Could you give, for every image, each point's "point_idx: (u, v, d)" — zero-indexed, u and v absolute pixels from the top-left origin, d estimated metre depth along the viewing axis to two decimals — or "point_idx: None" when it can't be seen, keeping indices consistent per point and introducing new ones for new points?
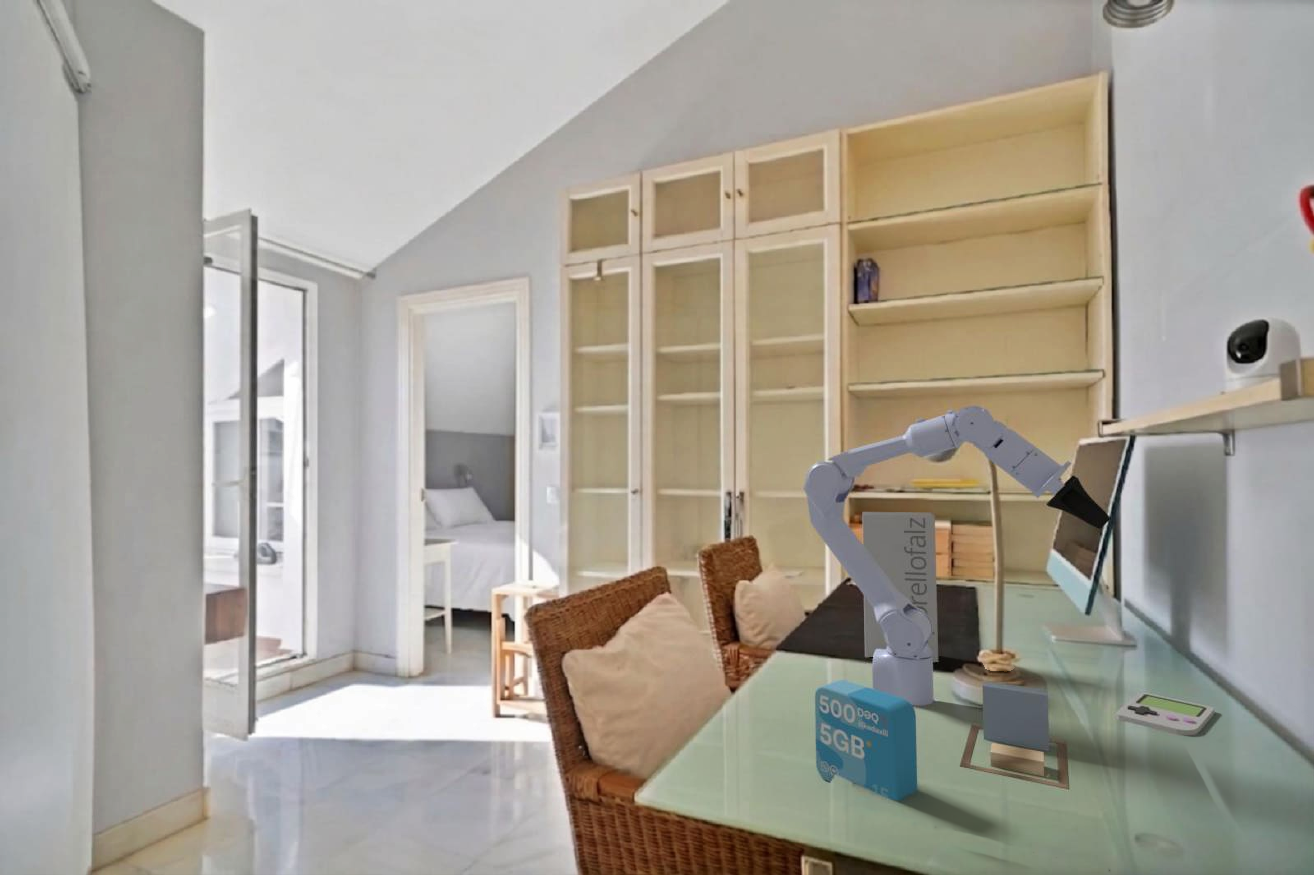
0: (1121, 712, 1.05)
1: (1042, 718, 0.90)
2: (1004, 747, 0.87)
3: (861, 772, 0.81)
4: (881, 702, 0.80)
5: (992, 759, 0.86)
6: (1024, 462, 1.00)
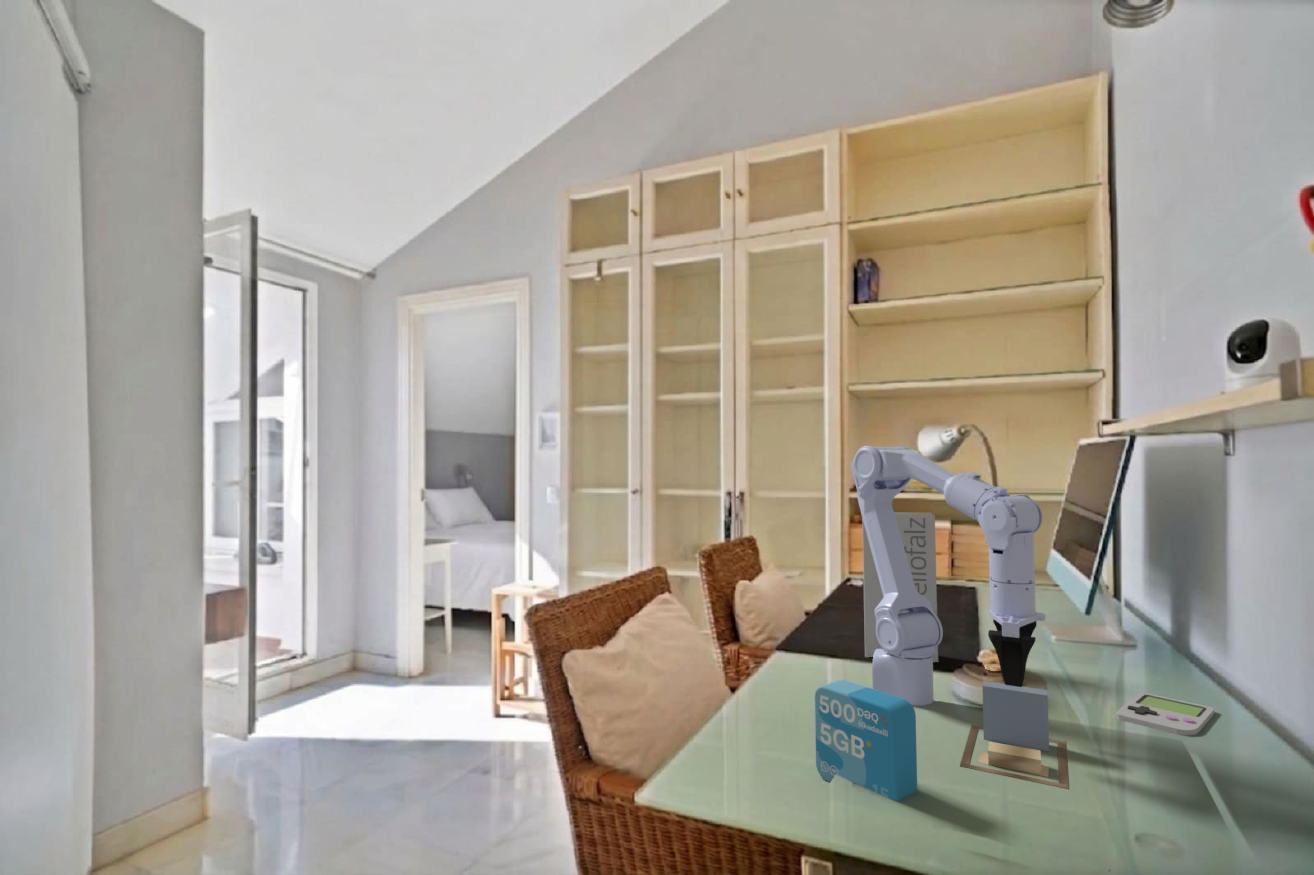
0: (1121, 712, 1.05)
1: (1042, 718, 0.90)
2: (1002, 746, 0.87)
3: (861, 772, 0.81)
4: (881, 702, 0.80)
5: (990, 758, 0.86)
6: (1011, 586, 0.91)
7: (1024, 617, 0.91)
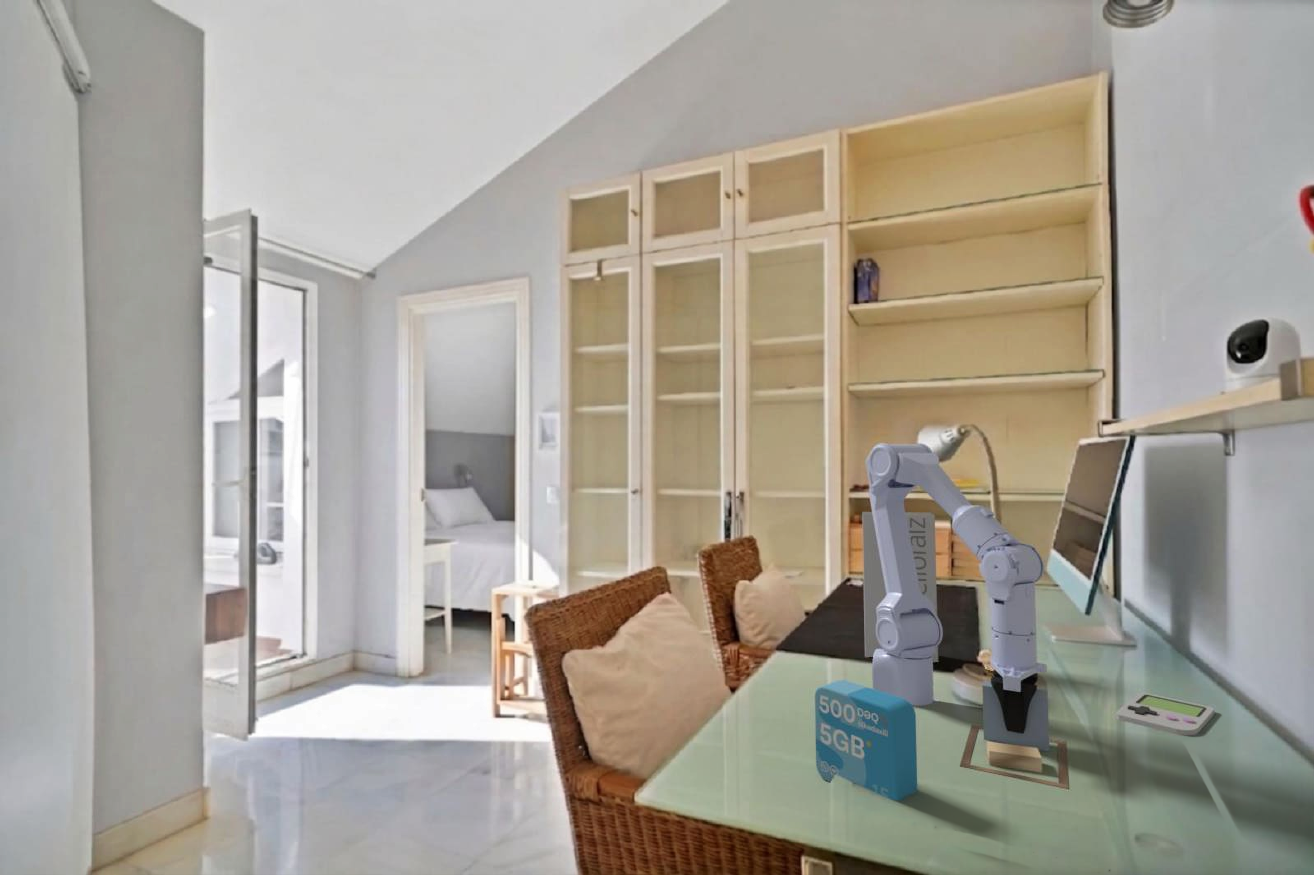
0: (1121, 712, 1.05)
1: (1042, 718, 0.90)
2: (1000, 745, 0.88)
3: (861, 772, 0.81)
4: (881, 702, 0.80)
5: (991, 758, 0.86)
6: (1012, 637, 0.91)
7: (1025, 669, 0.90)
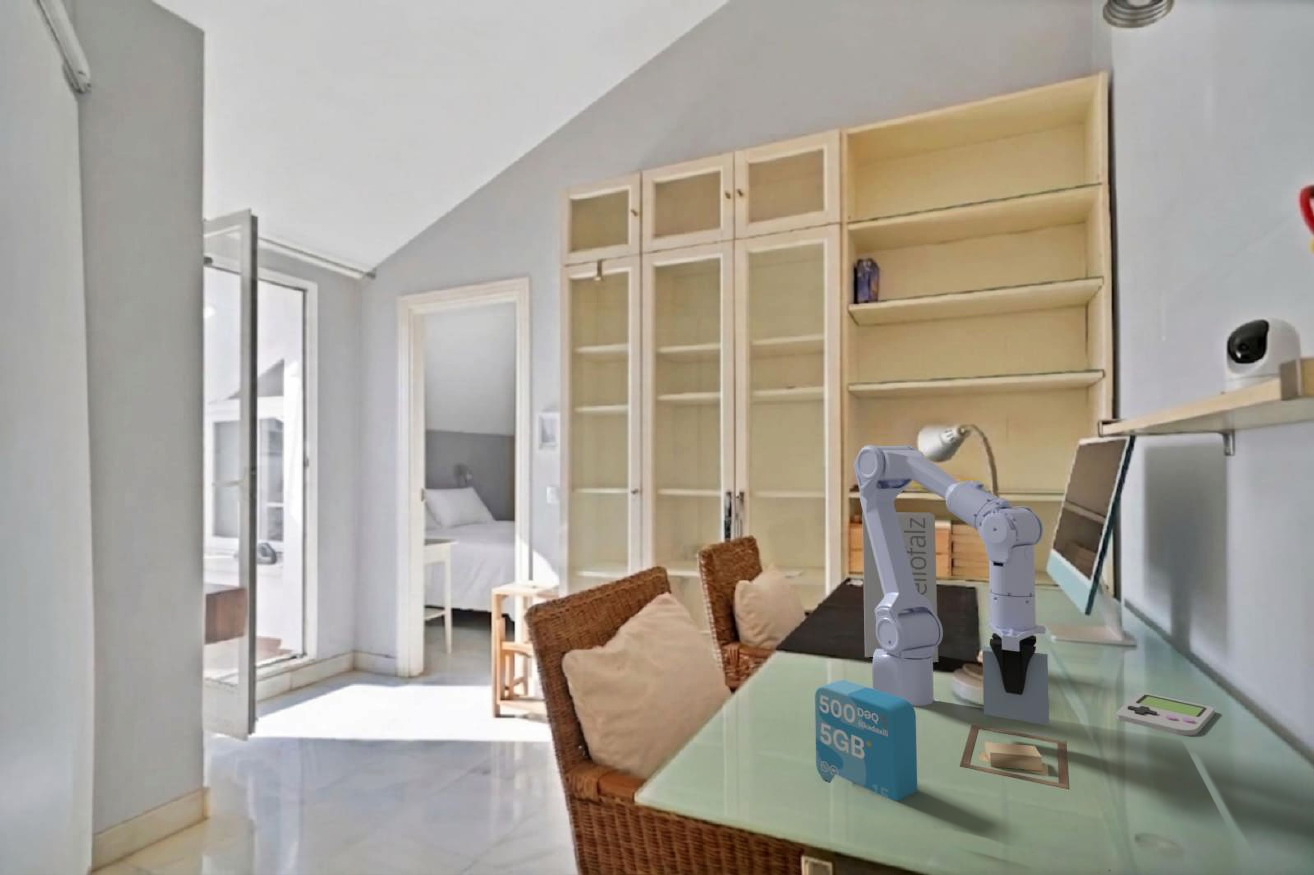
0: (1121, 712, 1.05)
1: (1042, 681, 0.90)
2: (999, 745, 0.88)
3: (861, 772, 0.81)
4: (881, 702, 0.80)
5: (992, 759, 0.86)
6: (1011, 599, 0.91)
7: (1024, 630, 0.91)
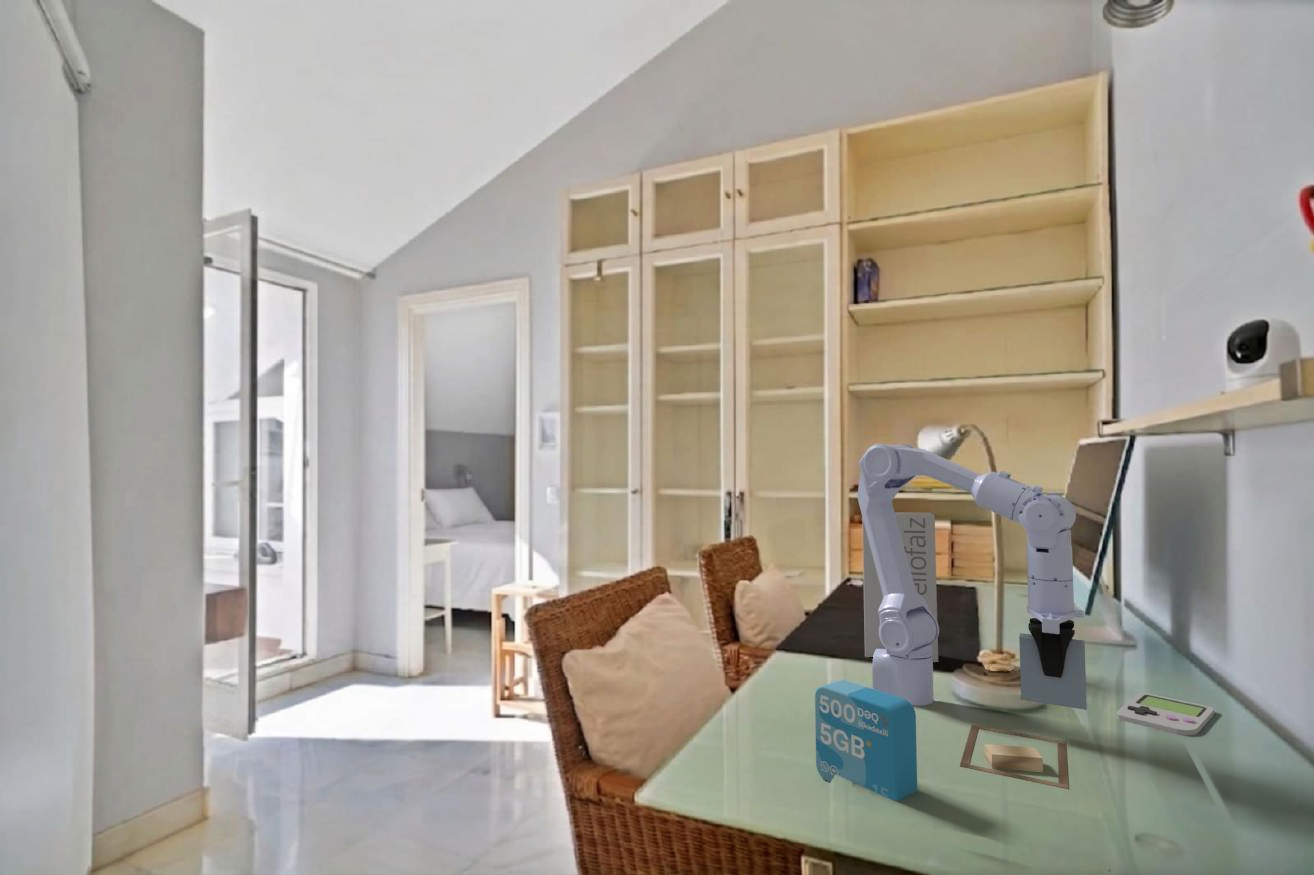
0: (1121, 712, 1.05)
1: (1079, 667, 0.92)
2: (999, 747, 0.87)
3: (861, 772, 0.81)
4: (881, 702, 0.80)
5: (993, 761, 0.85)
6: (1050, 583, 0.93)
7: (1063, 614, 0.92)
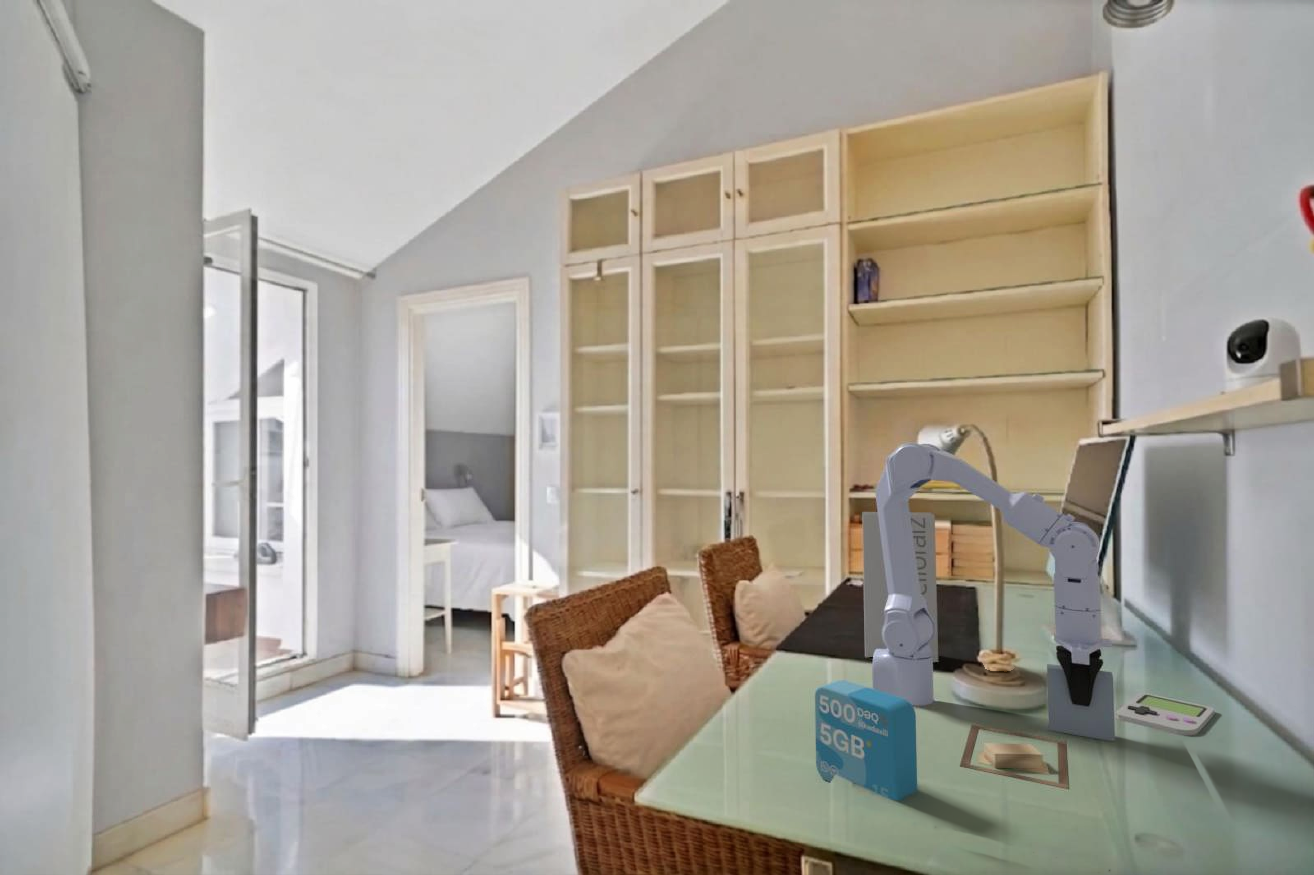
0: (1121, 712, 1.05)
1: (1107, 699, 0.93)
2: (998, 746, 0.87)
3: (861, 772, 0.81)
4: (881, 702, 0.80)
5: (996, 760, 0.85)
6: (1078, 613, 0.94)
7: (1091, 643, 0.93)
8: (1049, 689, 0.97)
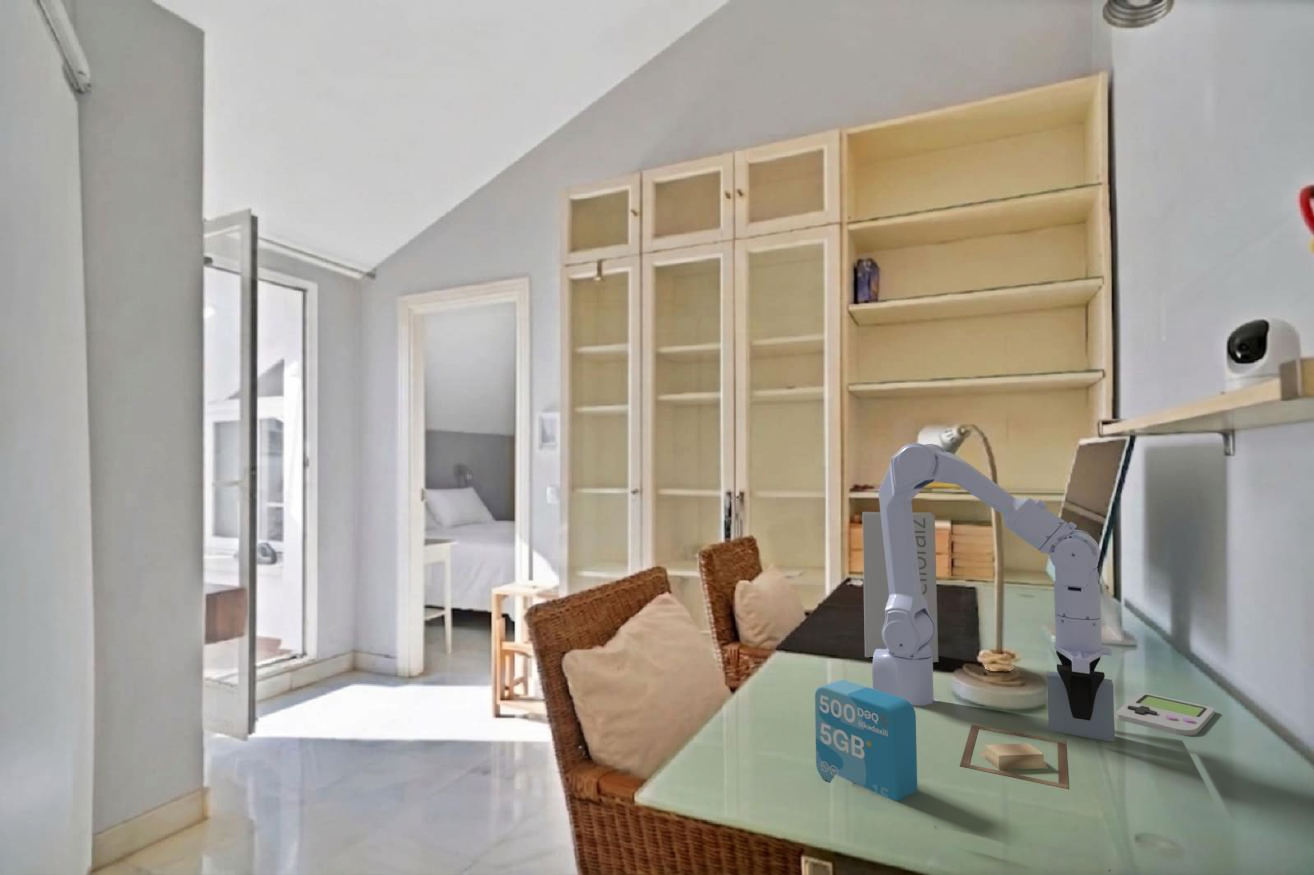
0: (1121, 712, 1.05)
1: (1107, 706, 0.93)
2: (999, 747, 0.87)
3: (861, 772, 0.81)
4: (881, 702, 0.80)
5: (1000, 762, 0.85)
6: (1078, 621, 0.94)
7: (1092, 652, 0.93)
8: (1049, 696, 0.97)
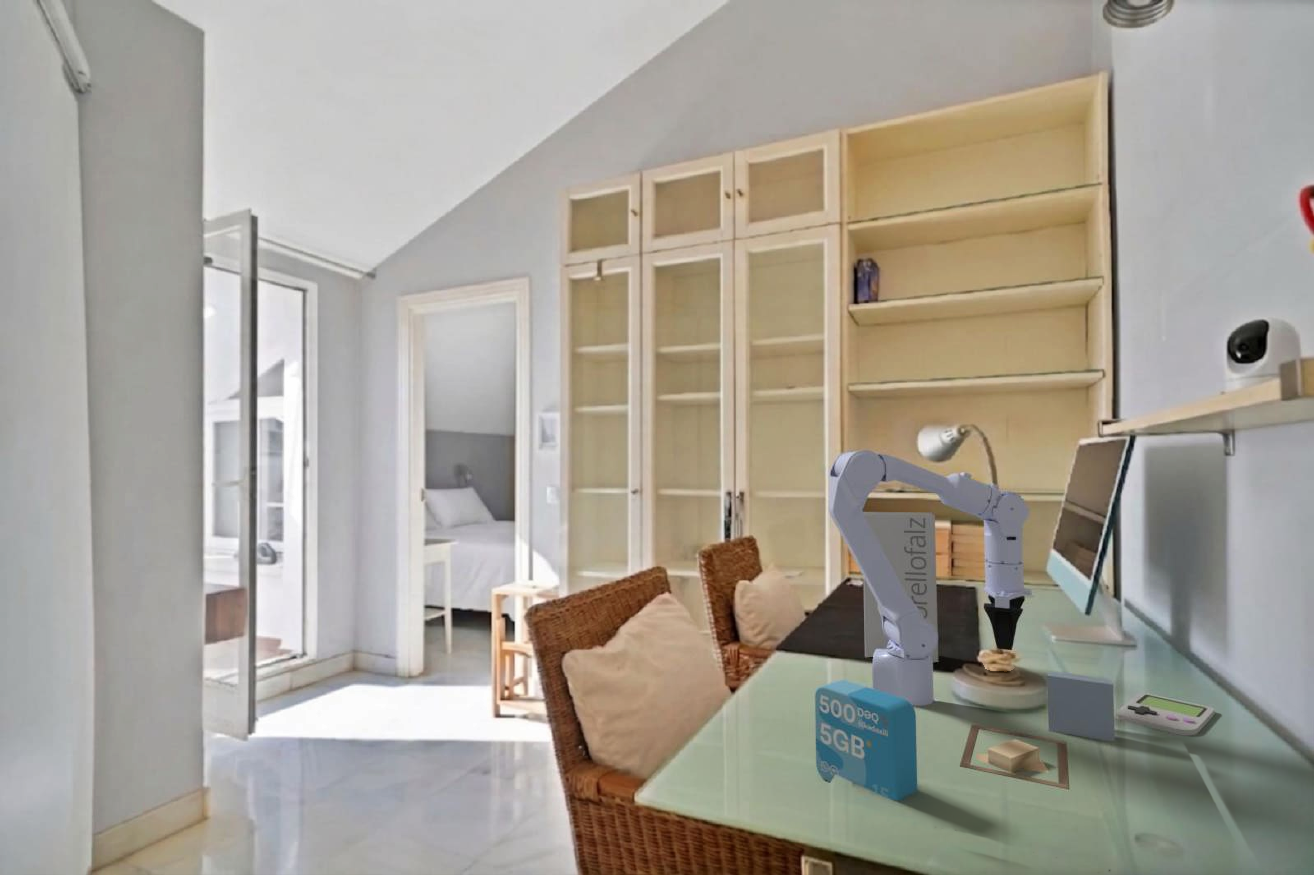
0: (1120, 712, 1.05)
1: (1107, 706, 0.93)
2: (1000, 748, 0.87)
3: (861, 772, 0.81)
4: (881, 702, 0.80)
5: (1012, 765, 0.84)
6: (1003, 566, 1.09)
7: (1014, 592, 1.08)
8: (1049, 696, 0.97)
